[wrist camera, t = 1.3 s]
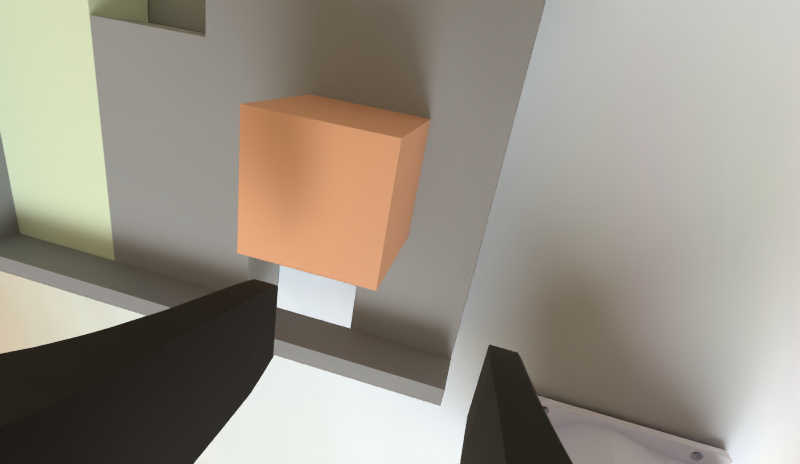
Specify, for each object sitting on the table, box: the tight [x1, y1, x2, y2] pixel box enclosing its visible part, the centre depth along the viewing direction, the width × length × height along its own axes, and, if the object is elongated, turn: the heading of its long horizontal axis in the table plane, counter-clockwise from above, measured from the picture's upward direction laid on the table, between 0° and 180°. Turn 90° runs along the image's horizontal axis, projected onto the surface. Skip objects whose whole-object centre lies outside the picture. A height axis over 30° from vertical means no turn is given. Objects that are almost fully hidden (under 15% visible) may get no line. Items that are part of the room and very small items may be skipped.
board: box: [0, 0, 546, 406], centre depth 17 cm, size 23×16×6 cm
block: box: [237, 94, 431, 291], centre depth 14 cm, size 4×4×4 cm
